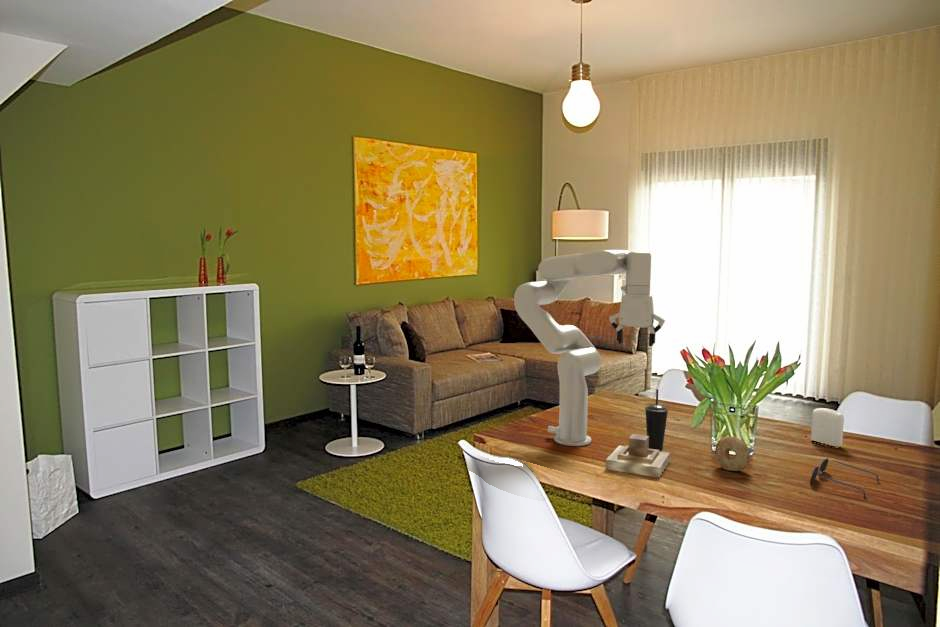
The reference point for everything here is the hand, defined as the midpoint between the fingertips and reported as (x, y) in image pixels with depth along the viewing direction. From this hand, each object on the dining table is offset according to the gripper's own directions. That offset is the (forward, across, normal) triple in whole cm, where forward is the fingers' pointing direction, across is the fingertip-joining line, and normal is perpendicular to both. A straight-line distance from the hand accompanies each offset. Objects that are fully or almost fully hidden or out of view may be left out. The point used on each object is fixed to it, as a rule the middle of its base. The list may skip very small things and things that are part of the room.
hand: (635, 344), depth 218 cm
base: (+36, +4, -9) cm, 37 cm away
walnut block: (+33, +4, -9) cm, 35 cm away
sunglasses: (+37, +60, +3) cm, 71 cm away
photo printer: (+36, +56, +43) cm, 79 cm away
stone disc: (+36, +30, 0) cm, 47 cm away
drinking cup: (+36, +5, +11) cm, 38 cm away
